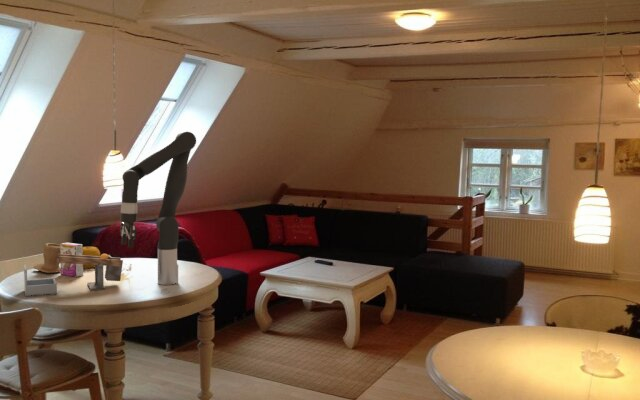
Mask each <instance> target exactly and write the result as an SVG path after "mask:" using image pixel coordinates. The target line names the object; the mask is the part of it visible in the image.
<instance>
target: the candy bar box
mask: <svg viewBox="0 0 640 400" xmlns="http://www.w3.org/2000/svg"><path fill="white" fill-rule="evenodd" d="M59 245H60V254H69V255H83V247H84V246H83V244H82V243H73V242H62V243H60V244H59ZM60 268H61V271H60V275H62V276H67V277H71V278H73V277H74V278H79V277H82V276H84V268H83V264H68V263H60Z"/></svg>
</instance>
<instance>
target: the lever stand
mask: <svg viewBox="0 0 640 400" xmlns="http://www.w3.org/2000/svg"><path fill="white" fill-rule="evenodd" d="M87 287H88V288H89V290H90V291H91V292H93V291H103V290H106V288H105V283H104V266H103V263H99V264H98V266H97V265H95V267H94V281H93V282H92V281H90V282H87Z"/></svg>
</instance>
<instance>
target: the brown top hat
mask: <svg viewBox="0 0 640 400" xmlns="http://www.w3.org/2000/svg"><path fill="white" fill-rule="evenodd" d="M58 254H60V244H58V243H52V242H51V243H50V242H47V243H45V245H43V262H44V263H39V264H36V265H34V266H33V267H32V268H33V269H34V270H36V271H39V272H43V273H48V274H53V273H61V266H60V263H58V261H57V257H58Z"/></svg>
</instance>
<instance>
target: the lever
mask: <svg viewBox="0 0 640 400" xmlns="http://www.w3.org/2000/svg"><path fill="white" fill-rule="evenodd" d="M107 255H108V256H109V259H100V256H101V255H100V256H85V255H69V254H58V257H57V261H58V263H59V264H61V263H68V264H86V265H97V266H98V264H99V263H103V267H104V266H105V271H104V279H105V280H106V281H107V282H108V281H110V282H111V281H112V282H121V277H122V270H123V263H124V259H121V257H115V256H114V257H112V256H111V254H107Z"/></svg>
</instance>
